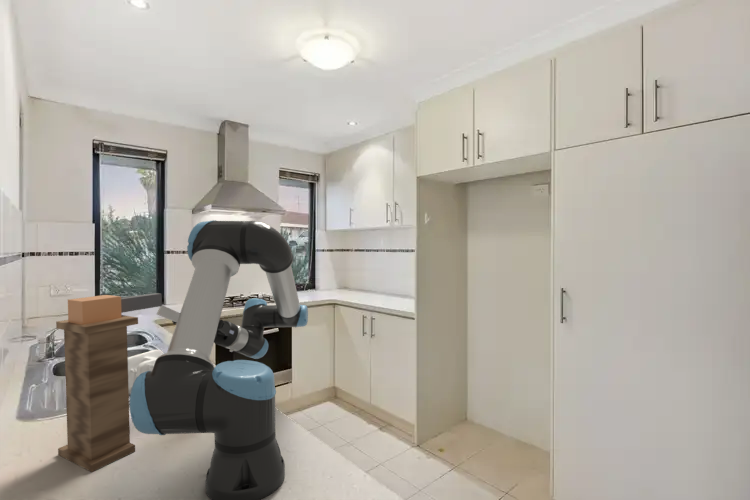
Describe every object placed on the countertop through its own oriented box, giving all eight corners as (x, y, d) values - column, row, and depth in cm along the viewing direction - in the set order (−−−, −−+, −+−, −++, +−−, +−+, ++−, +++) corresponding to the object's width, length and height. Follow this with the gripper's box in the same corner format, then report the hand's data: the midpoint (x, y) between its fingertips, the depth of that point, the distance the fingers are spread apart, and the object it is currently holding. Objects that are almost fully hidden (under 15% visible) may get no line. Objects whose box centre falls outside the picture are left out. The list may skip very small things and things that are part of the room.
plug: (166, 310, 101) (165, 290, 101) (82, 324, 84) (82, 301, 84) (151, 308, 103) (151, 289, 103) (68, 322, 87) (67, 299, 87)
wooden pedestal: (143, 447, 92) (140, 317, 91) (91, 472, 82) (87, 327, 81) (110, 433, 98) (106, 312, 97) (58, 454, 89) (54, 321, 88)
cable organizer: (163, 380, 135) (162, 347, 134) (184, 385, 130) (184, 350, 130) (119, 397, 121) (118, 359, 121) (141, 402, 117) (140, 364, 116)
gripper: (254, 352, 115) (199, 329, 99) (198, 342, 127) (140, 320, 111) (263, 328, 119) (211, 302, 102) (207, 320, 130) (153, 296, 114)
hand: (174, 311), depth 106 cm, fingers open, 13 cm apart
